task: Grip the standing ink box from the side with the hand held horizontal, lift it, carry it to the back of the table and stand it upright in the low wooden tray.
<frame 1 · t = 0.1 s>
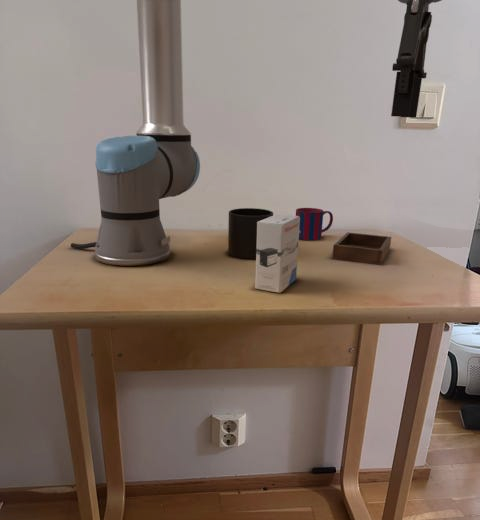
hand: (404, 117, 85), 28 cm above the table, tool pointing down, fingers open, 13 cm apart
wooden tray: (362, 254, 108), on the table
cup: (313, 238, 122), on the table
ink box: (275, 285, 86), on the table
mug: (255, 254, 106), on the table
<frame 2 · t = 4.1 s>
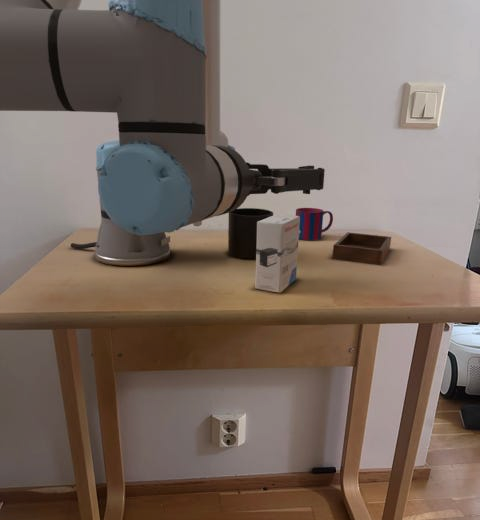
hand: (265, 173, 71), 20 cm above the table, tool horizontal, fingers open, 13 cm apart
nothing on the table moved.
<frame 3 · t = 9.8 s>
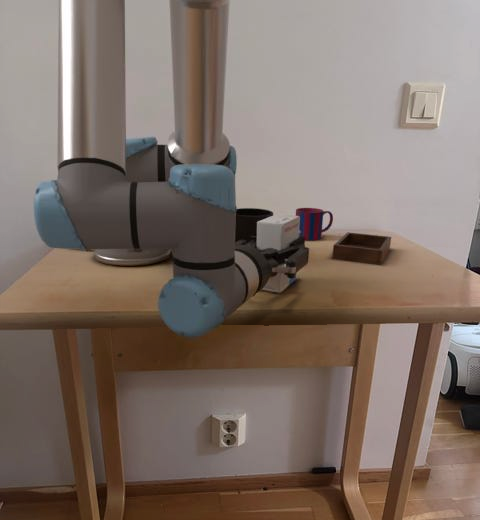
hand: (287, 241, 88), 7 cm above the table, tool horizontal, fingers closed on ink box, 5 cm apart
ink box: (275, 285, 86), on the table, touching gripper
everything else where it was.
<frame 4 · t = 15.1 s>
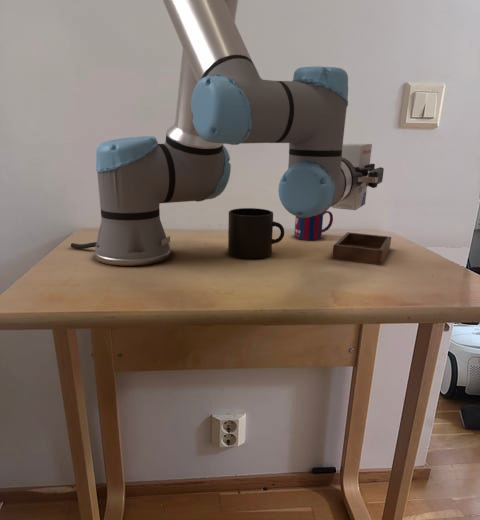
hand: (357, 170, 99), 18 cm above the table, tool horizontal, fingers closed on ink box, 5 cm apart
ink box: (348, 207, 97), point 11 cm above the table, touching gripper
everything else where it was.
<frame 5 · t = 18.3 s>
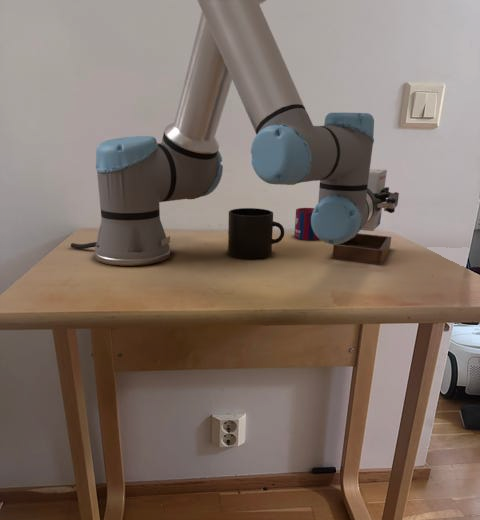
hand: (373, 192, 107), 13 cm above the table, tool horizontal, fingers closed on ink box, 5 cm apart
ink box: (365, 227, 105), point 6 cm above the table, touching gripper
everything else where it was.
when the fingers open (7 cm above the table, at t = 20.5 s): ink box stays where it is, resting on wooden tray.
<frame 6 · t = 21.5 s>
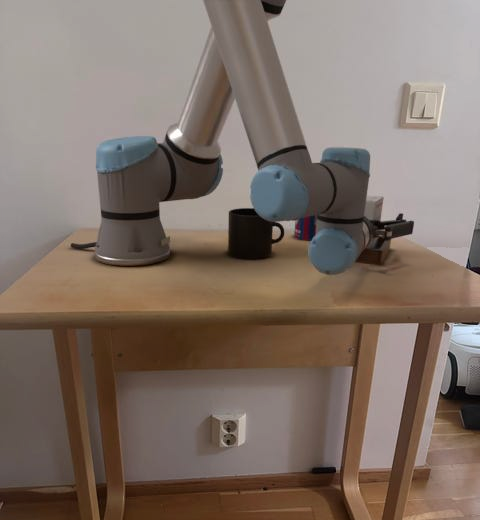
hand: (368, 216, 107), 8 cm above the table, tool horizontal, fingers open, 13 cm apart
ink box: (362, 252, 107), resting on wooden tray
everything else where it was.
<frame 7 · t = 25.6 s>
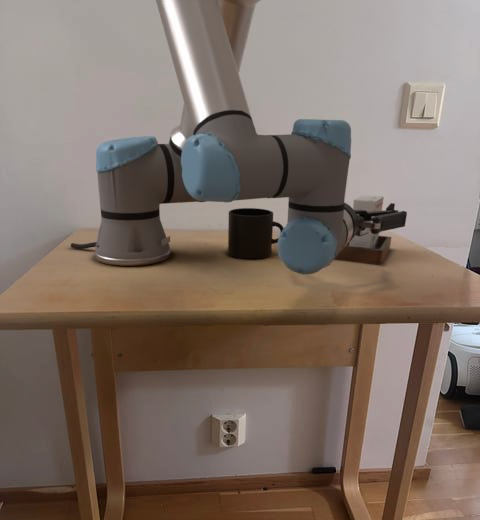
hand: (355, 207, 94), 12 cm above the table, tool horizontal, fingers open, 13 cm apart
nothing on the table moved.
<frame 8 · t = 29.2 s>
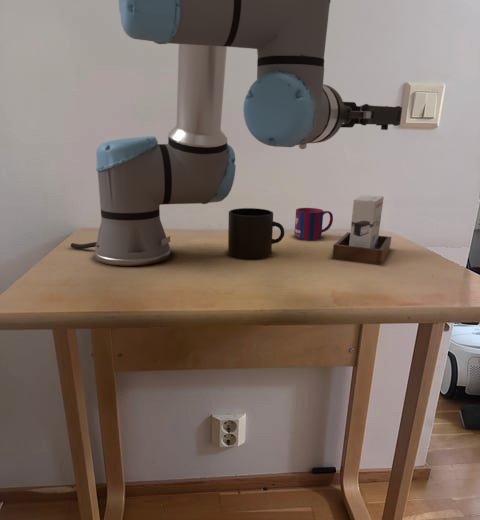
hand: (344, 115, 83), 28 cm above the table, tool horizontal, fingers open, 13 cm apart
nothing on the table moved.
at the end: ink box inside the target area in the wooden tray (0.1 cm from its centre), point 0.3 cm above the wooden tray's base; ink box tilted 0°; the gripper is holding nothing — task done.
